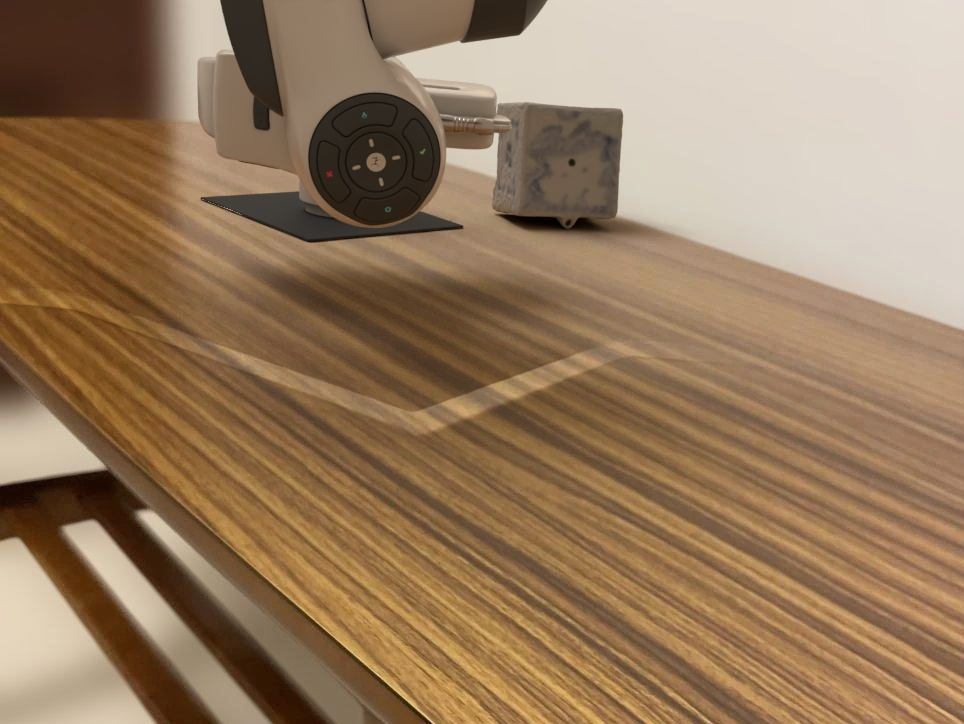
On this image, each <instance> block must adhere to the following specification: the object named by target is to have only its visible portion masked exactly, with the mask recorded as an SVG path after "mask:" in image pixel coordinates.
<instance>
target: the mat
mask: <svg viewBox="0 0 964 724" xmlns="http://www.w3.org/2000/svg"><path fill="white" fill-rule="evenodd" d="M201 199H204V200H206V201H209V202H211V203H214V204H216V205H219V206H222V207H225V208H228V209H231V210H233V211H235V212H238V213H240V214H242V215H244V216H246V217H245V218H247V217H248V218H247V219H249V218H250V220H252V221H254V222H257V223H259V222H260V224H262V225H264V224H265V225H264V226H267V227H270V228H272V229H275V230H277V231H280V232H282V233H285V234H287V235H290V236H293V237H295V238H298V239H300V240H303V241H305V242H307V243H311V242H313V243H314V242H322V241H323V242H324V241H335V240H344V239H345V240H347V239H355V238H367V237H378V236H389V235H400V234H410V233H421V232H432V231H433V232H434V231H443V230H444V231H445V230H455V229H463V228H464V225H463V224H460V223H457V222H454V221H451V220H448V219H445V218H442V217H439V216H437V215H433V214H431V213H427V212H425V211H422V210H421V211H419V212H418V213H417V214H415V215H414V216H412V217H411V218H409V219H407V220H405V221H403V222H401V223H399V224H396V225H393V226H388V227H382V228H367V227H359V226H354V225H350V224H347V223H344V222H342V221H340V220H337V219H336V218H333V217H325V216H319V215H315V214H311V213H309V212H307V211H306V210H305V204H304V202H303V201H301V200H300V198H299V190H298V191H297V190H296V191H283V192H279V191H278V192H265V193H249V194H248V193H247V194H230V195H229V194H228V195H215V196H212V195H211V196H200V200H201ZM206 201H205V202H206ZM209 202H208V203H209ZM211 203H210V204H211ZM214 204H213V205H214ZM216 205H215V206H216ZM219 206H218V207H219ZM242 215H241V216H242ZM244 216H243V217H244Z"/></svg>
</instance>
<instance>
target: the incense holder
mask: <svg viewBox="0 0 964 724" xmlns="http://www.w3.org/2000/svg"><path fill="white" fill-rule="evenodd" d="M496 114H497V115H502V116H505V117H507V118H508V119H509V120H511V125H512V128H511V130H510V133H508V134H503V133H498V141H497V153H496V156H497V157H496V158H497V162H496V180H495V182H494V186H493V190H492V199H491V207H492V210H494V211H495V212H498V213H501V214H507V215H509V214H510V215H514V216H518V217H536V218H537V217H544V218H545V217H547V218H555V219H556V220H557V221H558V223H559V224H560V225H561V226H562V227H563V228H564V229H571V228H572V227H573V226H575V223H576V222H577V221H578V219H580V218H583V219H594V220H595V219H596V220H597V219H598V220H613V219H616V217H617V214H618V211H619V210H618V209H619V188H620V187H619V186H620V172H621V151H622V140H623V127H624V126H623V125H624V113H623V110H622V109H621V108H615V107H585V106H584V107H583V106H568V105H560V104H559V105H558V104H549V103H548V104H547V103H538V102H530V101H529V102H528V101H523V102H522V101H521V102H519V101H518V102H499V103H497V108H496Z"/></svg>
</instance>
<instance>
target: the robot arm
mask: <svg viewBox="0 0 964 724" xmlns="http://www.w3.org/2000/svg"><path fill="white" fill-rule="evenodd" d="M548 1H549V0H219V3H220V6H221V12H222V16H223V21H224V24H225V28H226V32H227V35H228V39H229V42H230V46H231V48H232V49H231V48H224V49H220V50H219V51H218V52H216V55H215V56H202V57H199V58H198V59H197V85H196V86H197V88H196V89H197V90H196V91H197V115H198V120H199V123H200V126H201V128H202V130H204V132H205V134H207V135H208V136H209V137H211V138H213V139H214V141H215V149H216V153H217V155H218V156H219V157H221V158H223V159H225V160H232V161H237V162H239V163H244V164H251V165H254V166H255V165H256V166H260V167H261V166H262V167H266V168H270V169H276V170H282V171H284V172H287V173H290V174H293V175H295V176H297V177H298V179H299V180H300V181H301V183H302V184H303V186H304V187H305V189H306V190H307V192H308V193H309V195H310V196H311V197H312V199H313V200H314V201H315V202H316V203H317V204H318V205H319V206H320V207H321V208H322V209H323V210H324V211H326V212H327V213H328V214H330V215H331V216H333V217H334V218H336V219H337V220H340V221H342V222H344V223H347V224H350V225H354V226H359V227H367V228H382V227H388V226H393V225H396V224H399V223H401V222H403V221H405V220H407V219H409V218H411V217H412V216H414V215H415V214H417V213H418V212H419V211H422V210H423V209H425V208H426V207H427V205H429V203H430V202H431V201H432V200H433V198H434V197H435V195H436V194H437V192H438V190H439V188H440V186H441V184H442V181H443V177H444V175H445V170H446V164H447V149H457V150H475V151H476V150H478V151H479V150H487V149H489V148H491V146H493V143H494V136H495V134H499V133H503V134H508V133H510V130H511V128H512V125H511V120H509V119H508V118H507V117H505V116H502V115H497V114H496V113H497V107H498V95H497V92H496V91H495V89H494V88H493V87H492V86H489V85H486V84H483V83H476V82H465V81H457V80H445V79H433V78H426V77H425V78H424V77H423V78H422V77H416V76H414V74H413V73H412V72H411V70H409V68H408V67H407V66H406V65H405V64H404V63H403V62H402V61H401V60H400V59H399V58H398V56H402V55H406V54H411V53H415V52H419V51H423V50H428V49H431V48H435V47H440V46H444V45H449V44H452V43H456V42H460V43H461V44H466V43H473V42H481V41H488V40H489V41H490V40H495V39H503V38H509V37H517V36H520V35H521V34H522V33H524V31H526V30H527V28H528V27H529V26H530V25H531V24H532V22H533V21H534V20H535V19H536V18H537V16H538V15H539V14H540V12H541V11H542V10H543V8H544V7H545V5H546V4H547V2H548Z"/></svg>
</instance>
